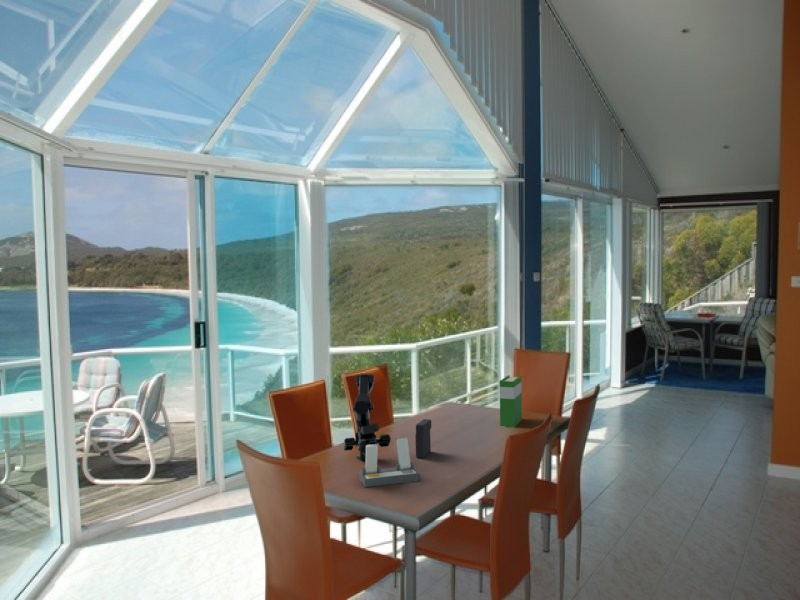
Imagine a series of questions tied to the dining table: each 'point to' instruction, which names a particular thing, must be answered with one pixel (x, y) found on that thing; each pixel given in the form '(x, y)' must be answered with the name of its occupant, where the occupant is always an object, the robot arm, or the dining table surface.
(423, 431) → the dark gray upright box
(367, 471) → the white switch lever
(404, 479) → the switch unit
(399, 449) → the lever slate
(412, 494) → the dining table surface
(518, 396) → the hardback book
